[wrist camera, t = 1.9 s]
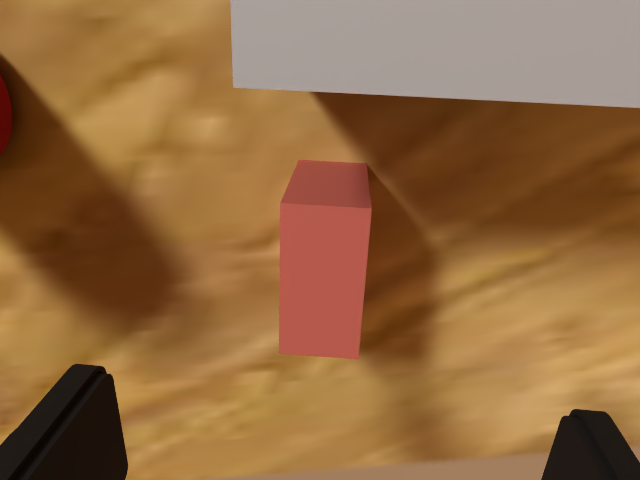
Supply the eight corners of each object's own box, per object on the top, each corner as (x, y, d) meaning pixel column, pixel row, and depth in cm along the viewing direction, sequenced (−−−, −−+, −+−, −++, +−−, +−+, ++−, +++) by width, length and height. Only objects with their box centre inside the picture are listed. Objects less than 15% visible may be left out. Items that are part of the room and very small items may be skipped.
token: (357, 283, 23) (358, 359, 18) (296, 279, 24) (279, 353, 18) (366, 163, 21) (371, 208, 16) (299, 159, 21) (280, 203, 16)
